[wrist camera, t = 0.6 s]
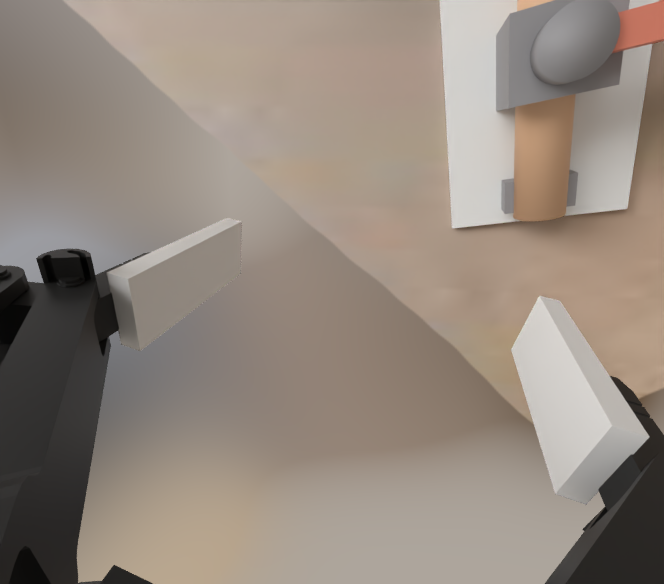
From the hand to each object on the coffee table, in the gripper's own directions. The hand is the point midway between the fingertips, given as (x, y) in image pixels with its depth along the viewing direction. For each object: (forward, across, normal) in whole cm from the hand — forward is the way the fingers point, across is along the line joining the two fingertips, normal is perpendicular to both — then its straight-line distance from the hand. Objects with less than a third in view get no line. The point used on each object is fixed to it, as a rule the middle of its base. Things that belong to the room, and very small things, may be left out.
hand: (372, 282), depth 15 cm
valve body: (+27, +8, +12) cm, 31 cm away
